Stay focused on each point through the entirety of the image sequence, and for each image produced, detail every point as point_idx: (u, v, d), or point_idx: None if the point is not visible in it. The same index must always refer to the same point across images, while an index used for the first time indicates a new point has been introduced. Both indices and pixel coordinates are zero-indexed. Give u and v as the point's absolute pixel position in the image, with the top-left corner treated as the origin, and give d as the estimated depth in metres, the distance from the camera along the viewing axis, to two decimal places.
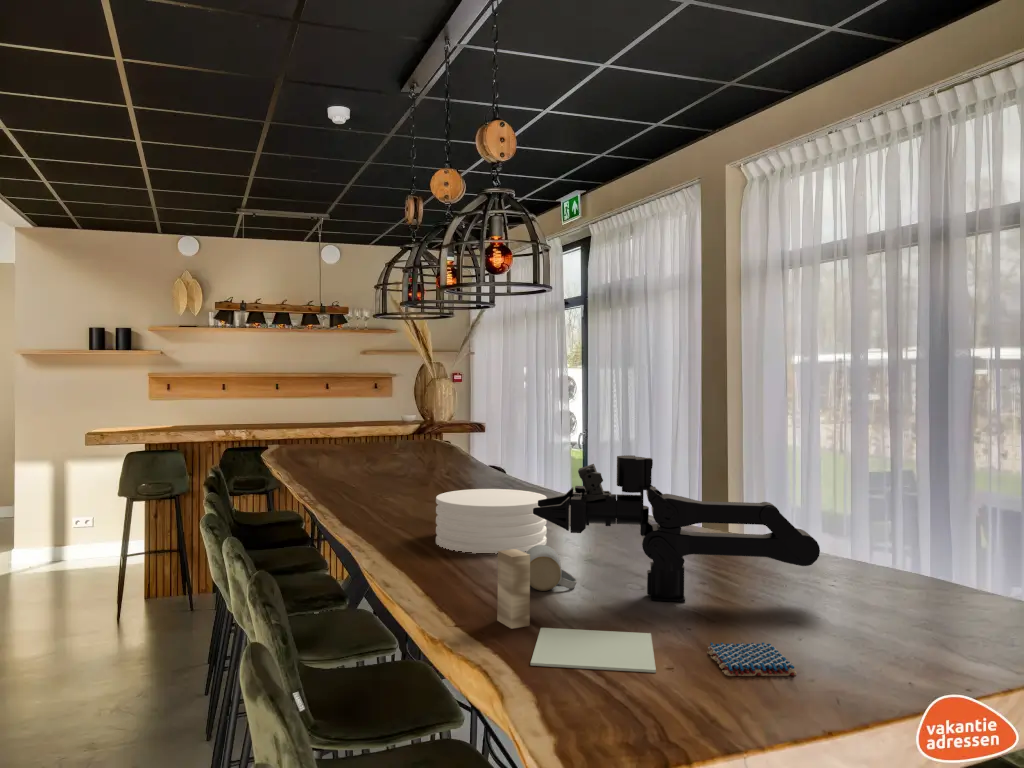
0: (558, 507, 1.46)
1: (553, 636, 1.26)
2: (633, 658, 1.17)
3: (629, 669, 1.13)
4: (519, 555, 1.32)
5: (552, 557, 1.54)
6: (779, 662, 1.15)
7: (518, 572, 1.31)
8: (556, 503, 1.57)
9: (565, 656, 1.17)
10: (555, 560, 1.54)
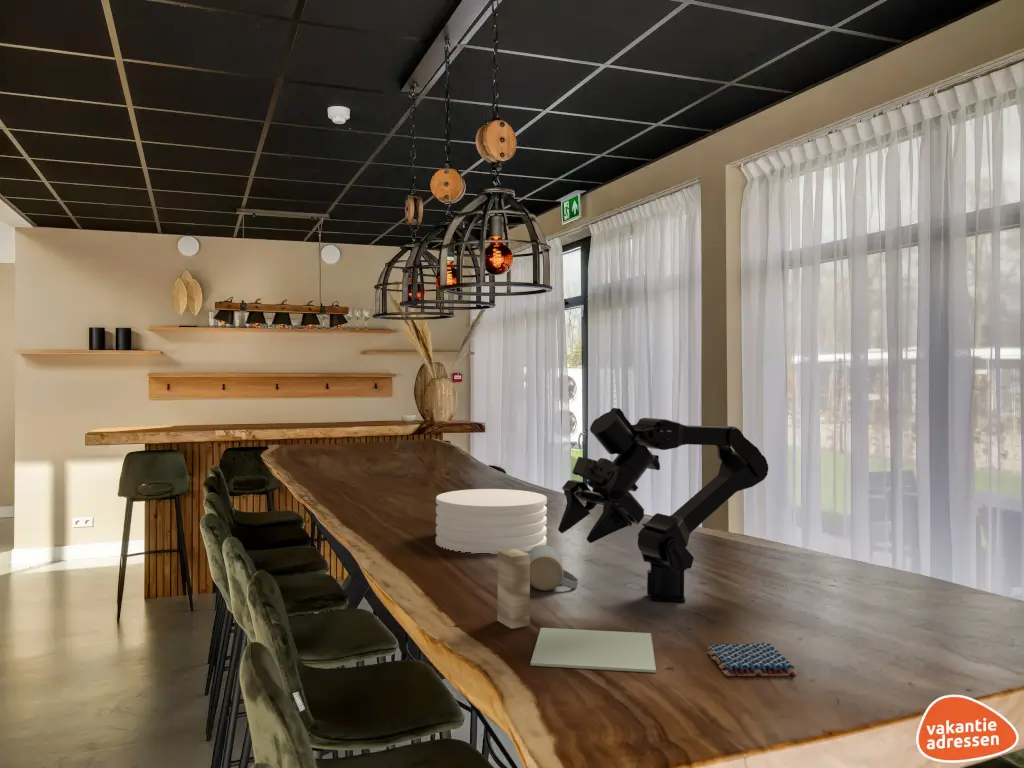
0: (607, 517, 1.35)
1: (553, 636, 1.26)
2: (633, 658, 1.17)
3: (629, 669, 1.13)
4: (519, 555, 1.32)
5: (554, 557, 1.54)
6: (779, 662, 1.15)
7: (518, 572, 1.31)
8: (571, 515, 1.45)
9: (565, 656, 1.17)
10: (557, 560, 1.54)
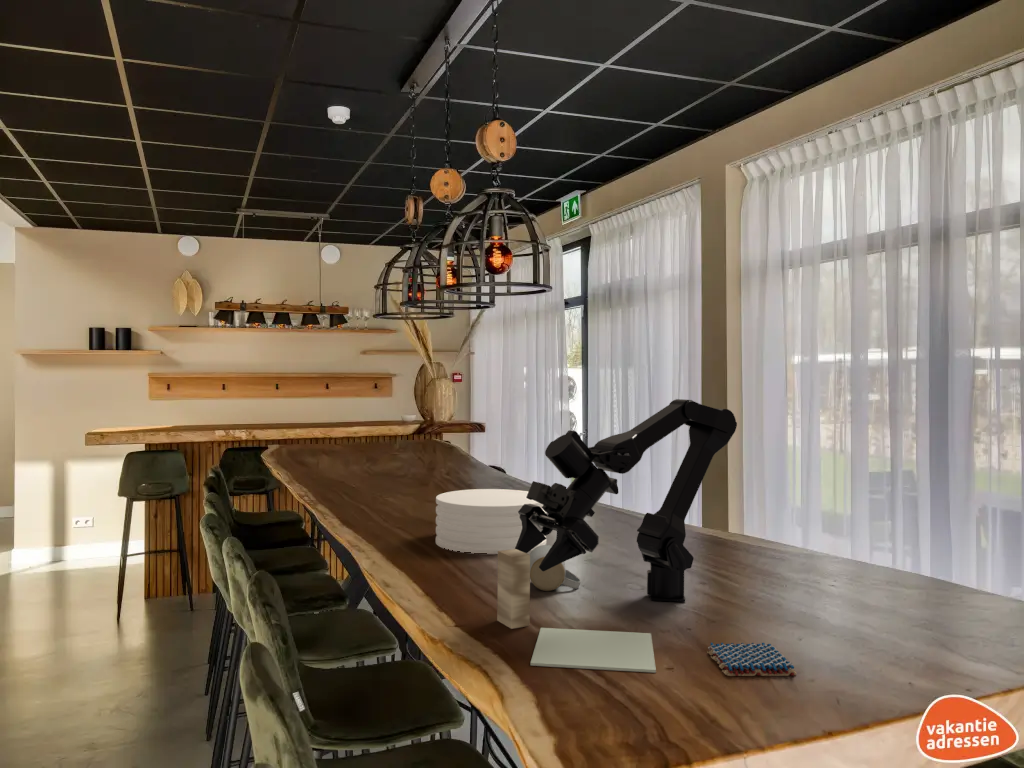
0: (560, 544, 1.31)
1: (553, 636, 1.26)
2: (633, 658, 1.17)
3: (629, 669, 1.13)
4: (519, 555, 1.32)
5: None
6: (779, 662, 1.15)
7: (518, 572, 1.31)
8: (526, 541, 1.40)
9: (565, 656, 1.17)
10: None
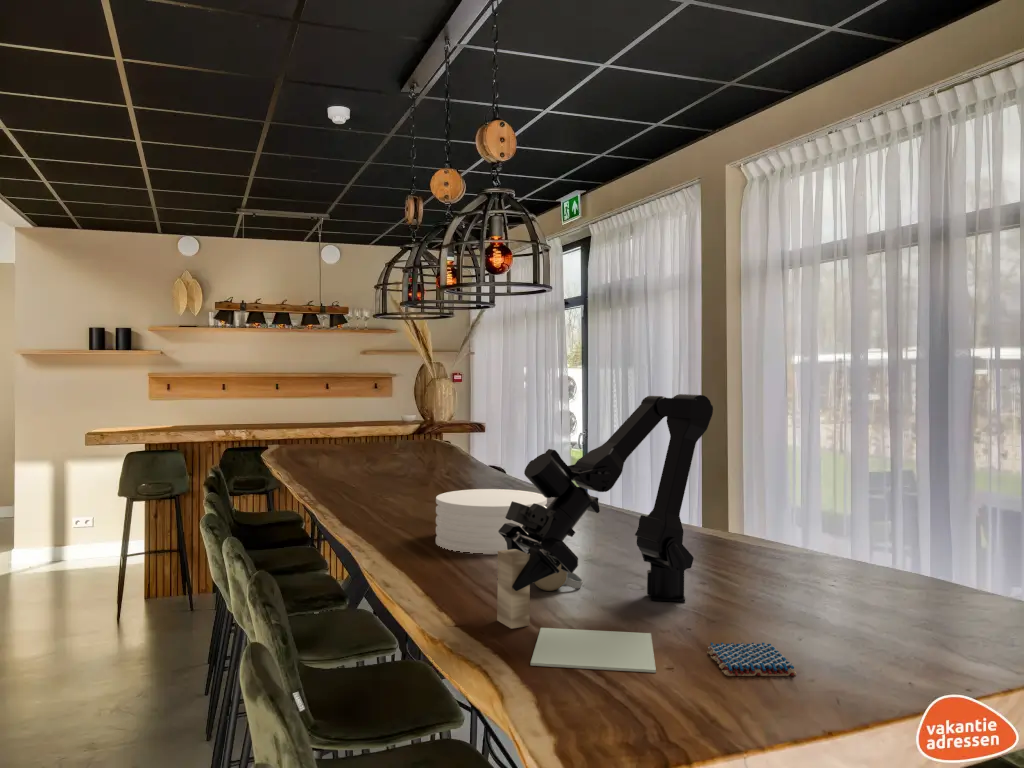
0: (533, 564, 1.31)
1: (553, 636, 1.26)
2: (633, 658, 1.17)
3: (629, 669, 1.13)
4: (519, 555, 1.32)
5: None
6: (779, 662, 1.15)
7: (518, 572, 1.31)
8: None
9: (565, 656, 1.17)
10: None
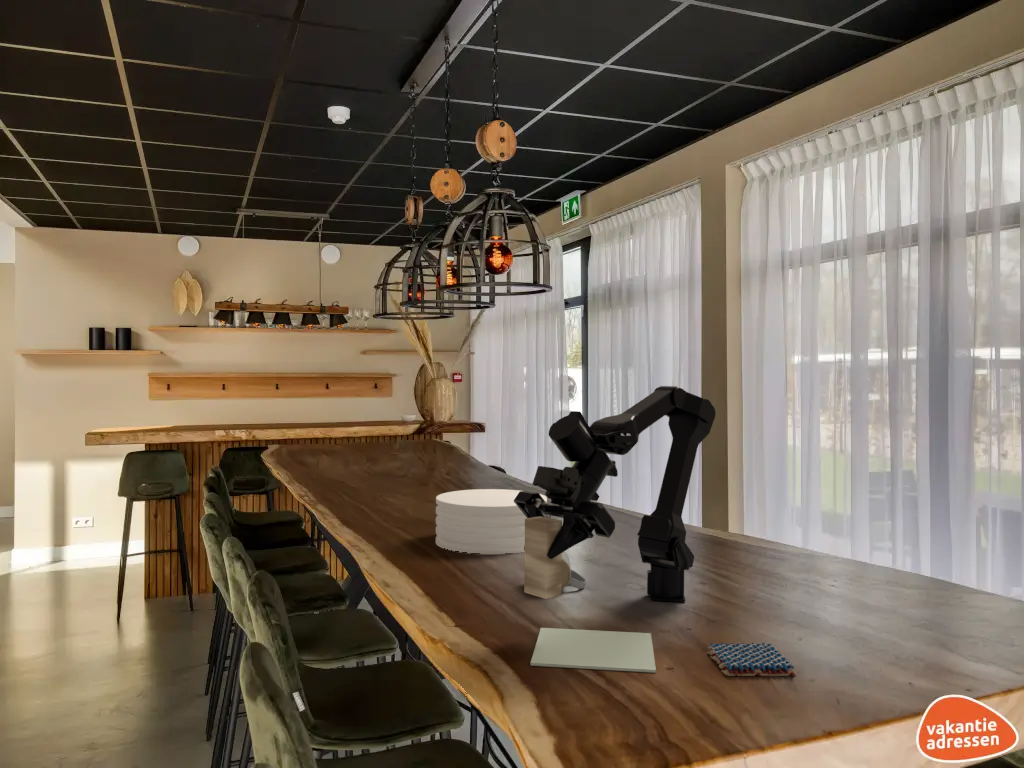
0: (568, 529, 1.25)
1: (553, 636, 1.26)
2: (633, 658, 1.17)
3: (629, 669, 1.13)
4: (552, 521, 1.26)
5: (562, 557, 1.54)
6: (779, 662, 1.15)
7: (552, 539, 1.25)
8: None
9: (565, 656, 1.17)
10: (565, 560, 1.54)
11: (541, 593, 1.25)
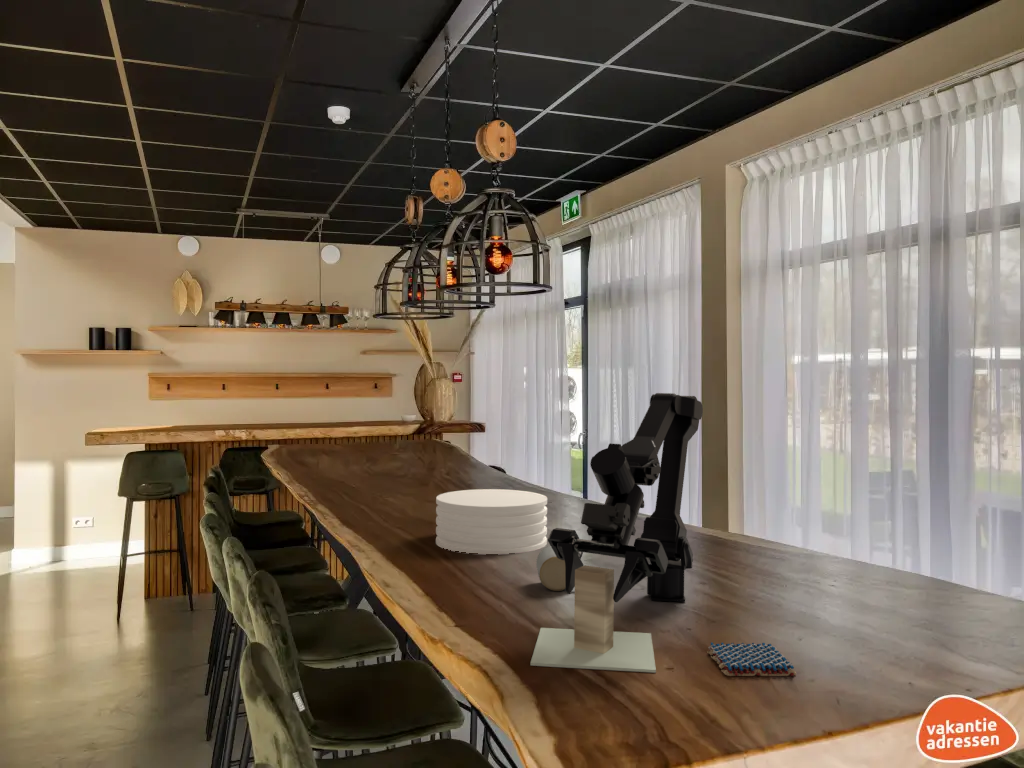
0: (632, 570, 1.19)
1: (553, 636, 1.26)
2: (633, 658, 1.17)
3: (629, 669, 1.13)
4: (606, 571, 1.20)
5: None
6: (779, 662, 1.15)
7: (608, 590, 1.19)
8: (574, 572, 1.24)
9: (565, 656, 1.17)
10: None
11: (597, 648, 1.19)
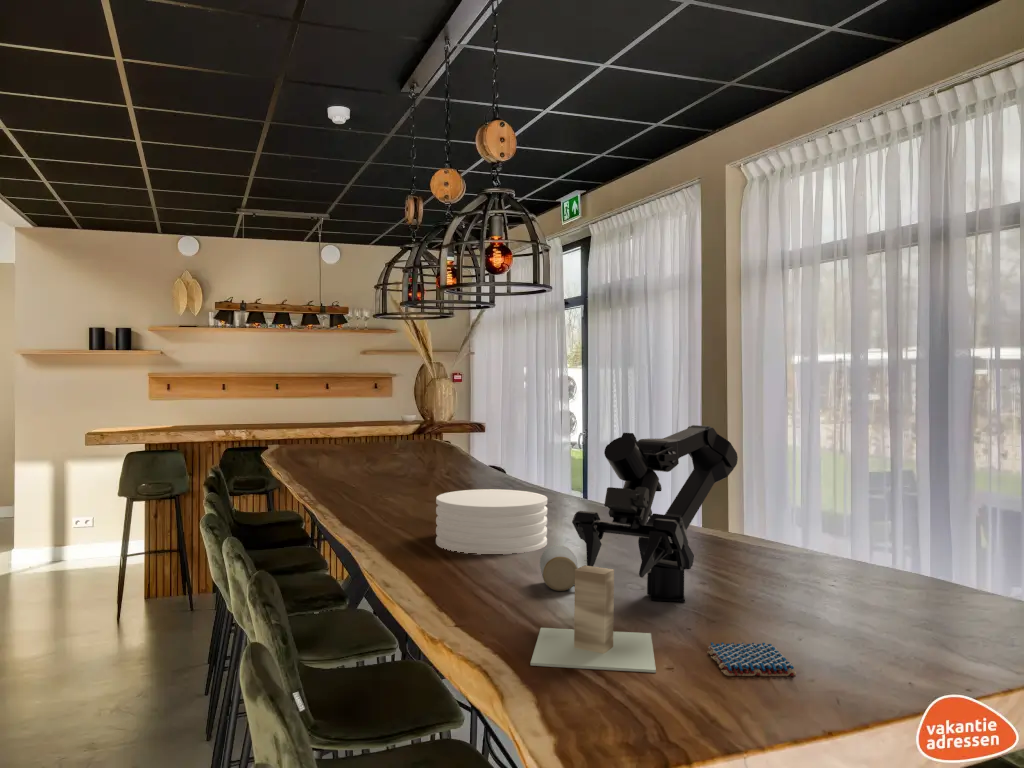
0: (655, 548, 1.31)
1: (553, 636, 1.26)
2: (633, 658, 1.17)
3: (629, 669, 1.13)
4: (606, 571, 1.20)
5: (569, 557, 1.54)
6: None
7: (608, 590, 1.19)
8: (594, 550, 1.36)
9: (565, 656, 1.17)
10: (572, 560, 1.54)
11: (597, 648, 1.19)
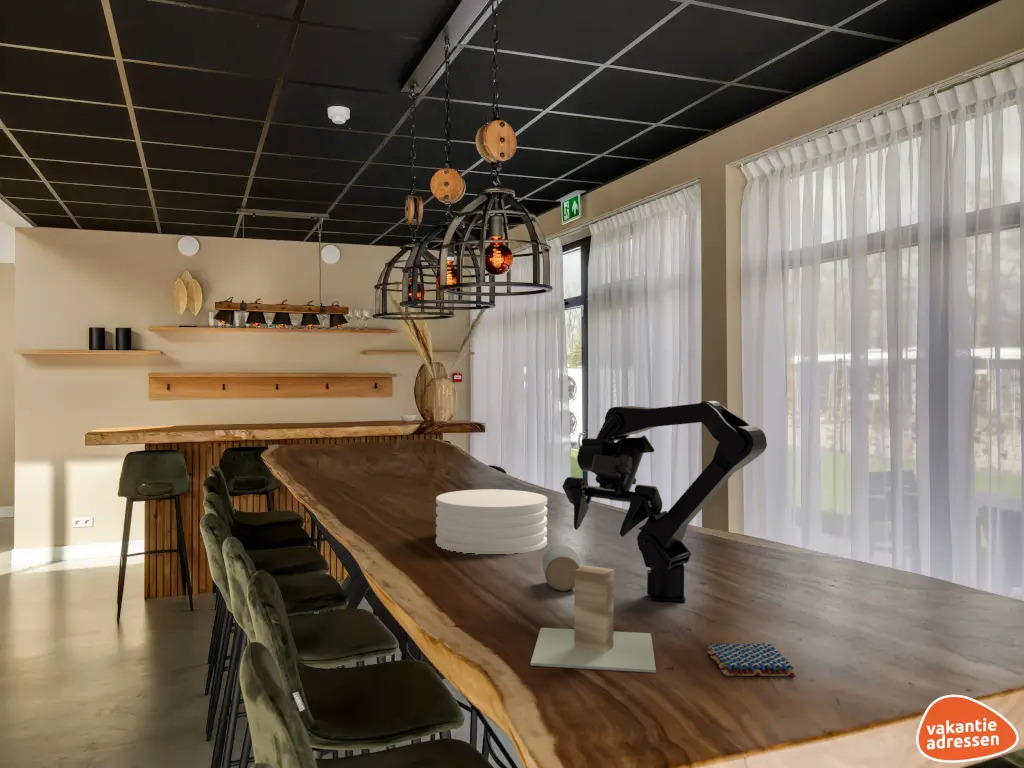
0: (636, 510, 1.44)
1: (553, 636, 1.26)
2: (633, 658, 1.17)
3: (629, 669, 1.13)
4: (606, 571, 1.20)
5: (572, 557, 1.54)
6: None
7: (608, 590, 1.19)
8: (581, 512, 1.49)
9: (565, 656, 1.17)
10: (575, 560, 1.54)
11: (597, 648, 1.19)
